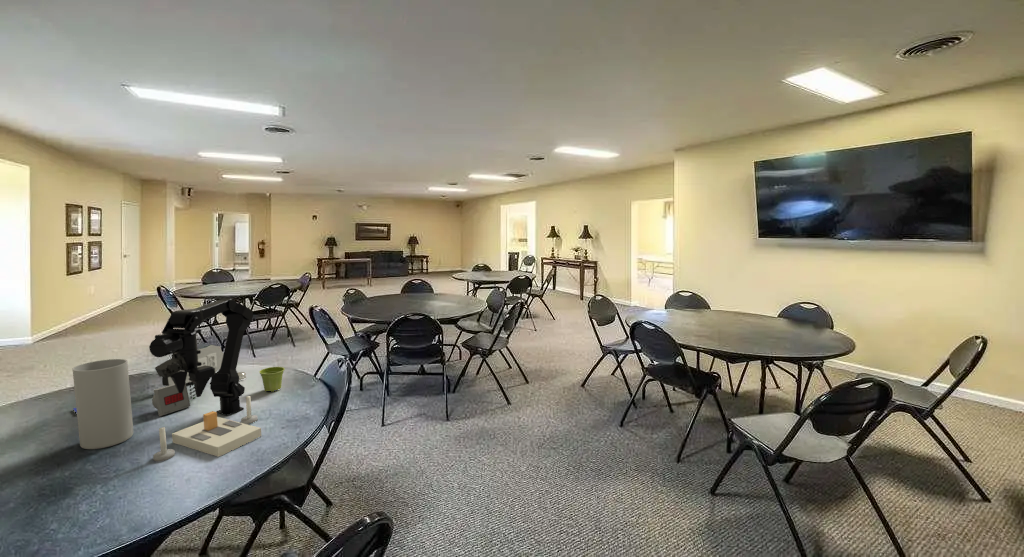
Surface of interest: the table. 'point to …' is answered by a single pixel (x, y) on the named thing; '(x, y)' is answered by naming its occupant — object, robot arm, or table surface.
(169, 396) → the voltmeter
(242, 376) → the metal grooved wheel
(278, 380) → the plant pot
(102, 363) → the cylinder vase
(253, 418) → the cable post
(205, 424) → the switch
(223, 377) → the robot arm
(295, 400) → the table surface
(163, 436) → the cable post
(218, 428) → the breaker board
